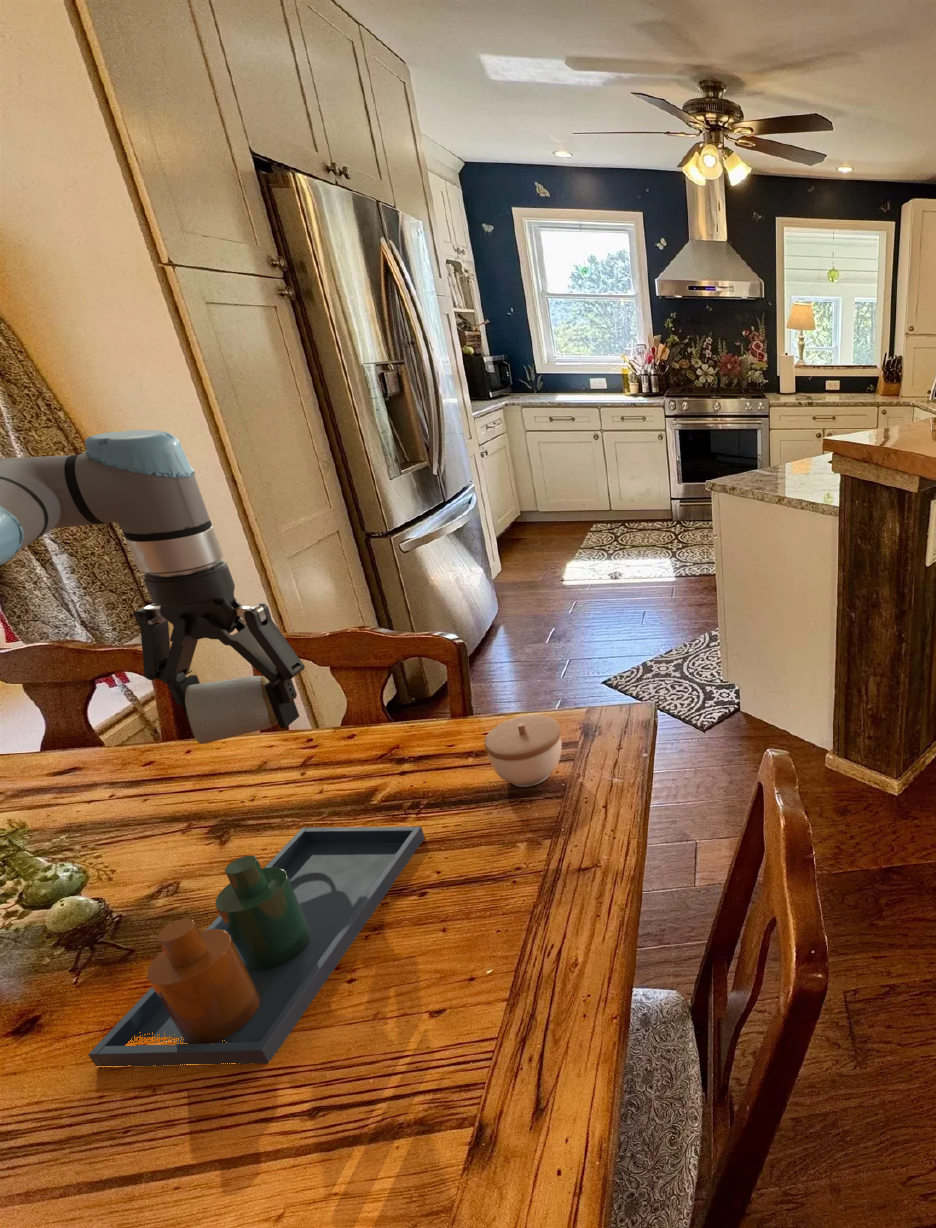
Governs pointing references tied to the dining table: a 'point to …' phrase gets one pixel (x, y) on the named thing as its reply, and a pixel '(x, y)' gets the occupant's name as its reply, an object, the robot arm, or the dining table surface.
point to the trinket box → (525, 749)
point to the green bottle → (262, 914)
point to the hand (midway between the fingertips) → (246, 722)
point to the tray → (335, 912)
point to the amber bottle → (202, 982)
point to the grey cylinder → (228, 708)
